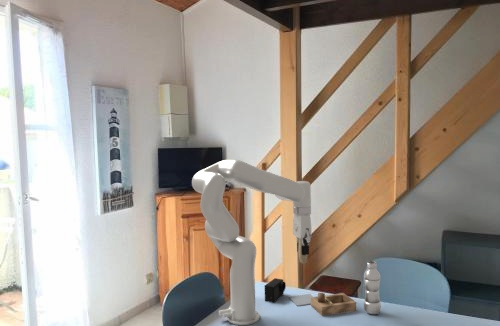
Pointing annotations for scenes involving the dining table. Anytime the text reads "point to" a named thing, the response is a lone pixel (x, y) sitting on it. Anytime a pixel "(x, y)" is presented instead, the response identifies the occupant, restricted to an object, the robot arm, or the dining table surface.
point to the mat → (301, 299)
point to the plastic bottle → (372, 289)
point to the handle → (302, 257)
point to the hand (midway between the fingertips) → (303, 252)
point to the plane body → (333, 304)
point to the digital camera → (274, 290)
